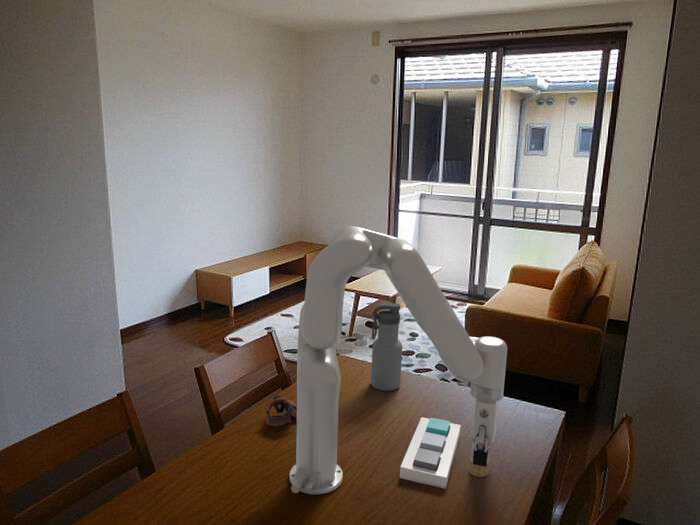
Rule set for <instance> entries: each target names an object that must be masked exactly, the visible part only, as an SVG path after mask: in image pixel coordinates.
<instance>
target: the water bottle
mask: <svg viewBox="0 0 700 525" xmlns="http://www.w3.org/2000/svg"><path fill="white" fill-rule="evenodd" d="M400 310H401V304H400V303H393V302H382V303H379V304H377V305H376V306H375V307H374V309H373V311H372V314H371V319H372V320H373V324H372V327H371V340H372V341H373V342H372V350H371V351H372V353H371V371H370V372H371V374H370V384H371V386H372V387H373V388H375V389H376V390H379V391H381V392H382V391H384V392H391V391H396V390H398V389H399V387H401V380H402V379H401V377H402V376H401V375H402V374H401V373H402V363H403V362H402V359H403V344H402V341H400V340H399V327H400V324H401V314H400ZM377 333H378V334H377ZM376 337H377V338H376Z"/></svg>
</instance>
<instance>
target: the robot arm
mask: <svg viewBox="0 0 700 525" xmlns="http://www.w3.org/2000/svg"><path fill="white" fill-rule="evenodd" d="M366 267H368V268H373V269H375V270H382V271H384V272H385V274H386V276H387V277H388V279H389V281H390V282H391V284H392V286H393V287H394V289H395V290H396V291H397V293H398V295H399V297H400V298H401V300H402V302H403V303H404V305H405V306H406V307H407V310H408V311H409V313H410V314H411V315H412V318H413V319H414V320H415V322H416V323H417V325H418V326H419V328H420V329H421V330H422V331H423V332H424V333H425V335H426V336H427V337H428V339H429V340H430V342H431V343H432V345H433V347H434V348H435V349H436V351H437V353H438V355H439V357H440V359H441V360H442V362H443V364H444V365H445V366H446V368H447V369H448V371H449V372H450V373H451V375H452V376H453V378H455V379H456V380H457V381H460V382H463V383H470V392H469V393H470V396H471V397H472V398H474V405H473V406H474V407H473V408H474V409H473V422H474V423H473V424H472V438H473V437H474V438H475V439H476V441H475V448H474V452H473V464H474V465H479V466H483V467H486V466H487V457H488V451H487V445H488V441H490V443H493V442H494V441H495V439H496V438H495V437H496V433H497V432H496V431H497V423H498V422H497V421H498V414H499V413H498V412H499V402H500V401H501V400H502V399H503V398H504V389H505V379H506V368H507V366H506V365H507V357H508V356H507V355H508V345H507V343H506V341H505V340H503V339H501V338H499V337H496V336H489V335H488V336H487V335H485V336H481V337H476V336H470V335H469V333H468V332H467V330H466V329H465V327H464V325H463V324H462V322H461V321H460V320H459V317H458V316H457V314H456V312H455V311H454V309H453V307H452V306H451V304H450V302H449V301H448V299H447V297H446V296H445V294H444V293H443V291H442V289H441V288H440V285H439V284H438V282H437V281H436V279H435V278H434V276H433V274H432V273H431V271H430V269H429V267H428V265H427V264H426V262H425V261H424V259H423V257H422V256H421V255H420V253H419V252H418V250H417V249H416V248H415V247H414V246H412V244H410V243H409V242H408V241H407V240H405V239H403V238H400V237H395V236H392V235H388V234H385V233H380V232H376V231H373V230H369V229H365V228H362V227H358V226H354V225H346V226H342V227H340V228H339V229H336V230H335V232H334V233H333V235H332V237H331V240H330V244H329V245H327V246H326V247H324V248H323V249H322V250H321V251H320V252H318V253H317V255H316V256H315V257H314V258H313V260H312V262H311V264H310V266H309V269H308V272H307V278H306V282H305V283H306V284H305V293H304V303H303V304H302V307H301V308H300V313H299V321H298V333H297V334H298V335H297V351H296V352H297V353H296V362H297V363H296V364H297V365H296V406H297V416H296V441H295V442H296V449H295V450H296V452H295V453H296V455H295V457H296V458H295V459H296V460H295V461H296V462H295V464H294V465H293V466H292V467H291V469H290V471H289V478H288V479H289V482H290V484H291V487H290V489H291V492H292V493H293V494H297V493H299V492H301V493H303V494H307V495H324V494H328V493H330V492H333V491H335V490H336V489H338V488H339V487H340V486H341V484H342V482H343V476H344V475H343V474H344V473H343V470H342V468H341V467H340V465H339V464H337V463H338V461H337V458H338V457H337V456H338V434H339V427H338V426H339V405H340V404H339V400H340V392H341V370H340V366H339V365H340V364H339V360H338V357H337V349H338V348H337V347H338V346H337V345H338V341H339V340H340V338H341V335H342V331H343V310H344V298H345V291H346V290H345V289H346V286H347V283H348V281H349V279H350V278H351V277H352V276H353V275H355V274H357V272H360V271H362V270H363V269H364V268H366ZM485 428H486V430H485ZM478 434H479V437H478ZM484 436H487V438H484ZM484 441H485V445H484Z"/></svg>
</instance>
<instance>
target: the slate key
mask: <svg viewBox="0 0 700 525" xmlns="http://www.w3.org/2000/svg"><path fill="white" fill-rule="evenodd" d="M444 445H445V436H443V435H438V434H433V433H428V432H425V433H424V435H423V438H422V440H421V445H420V448H422V449H426V450H431V451H436V452H440V453H442V452H443V449H444Z"/></svg>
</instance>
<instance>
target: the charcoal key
mask: <svg viewBox="0 0 700 525" xmlns="http://www.w3.org/2000/svg"><path fill="white" fill-rule="evenodd" d="M439 462H440V452H436V451H431V450H426V449H422V448H418V451H417V453H416V456H415V458H414V466H416V467H420V468H424V469H429V470H433V471H437V468H438V465H439Z"/></svg>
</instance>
